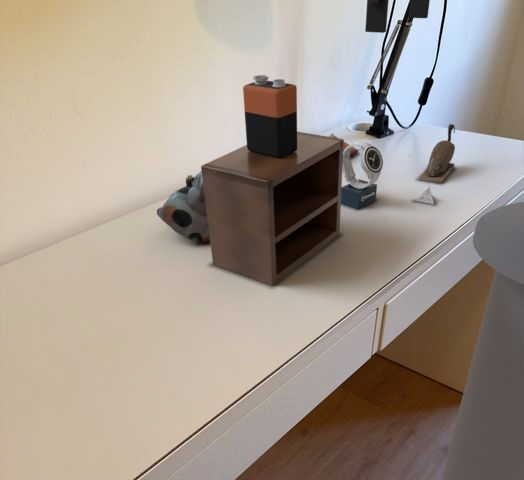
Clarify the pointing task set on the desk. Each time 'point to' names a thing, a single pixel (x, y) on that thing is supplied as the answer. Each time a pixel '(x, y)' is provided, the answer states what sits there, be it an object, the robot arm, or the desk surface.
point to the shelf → (273, 206)
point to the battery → (270, 116)
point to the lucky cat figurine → (187, 210)
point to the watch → (359, 190)
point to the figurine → (440, 160)
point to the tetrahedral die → (426, 197)
